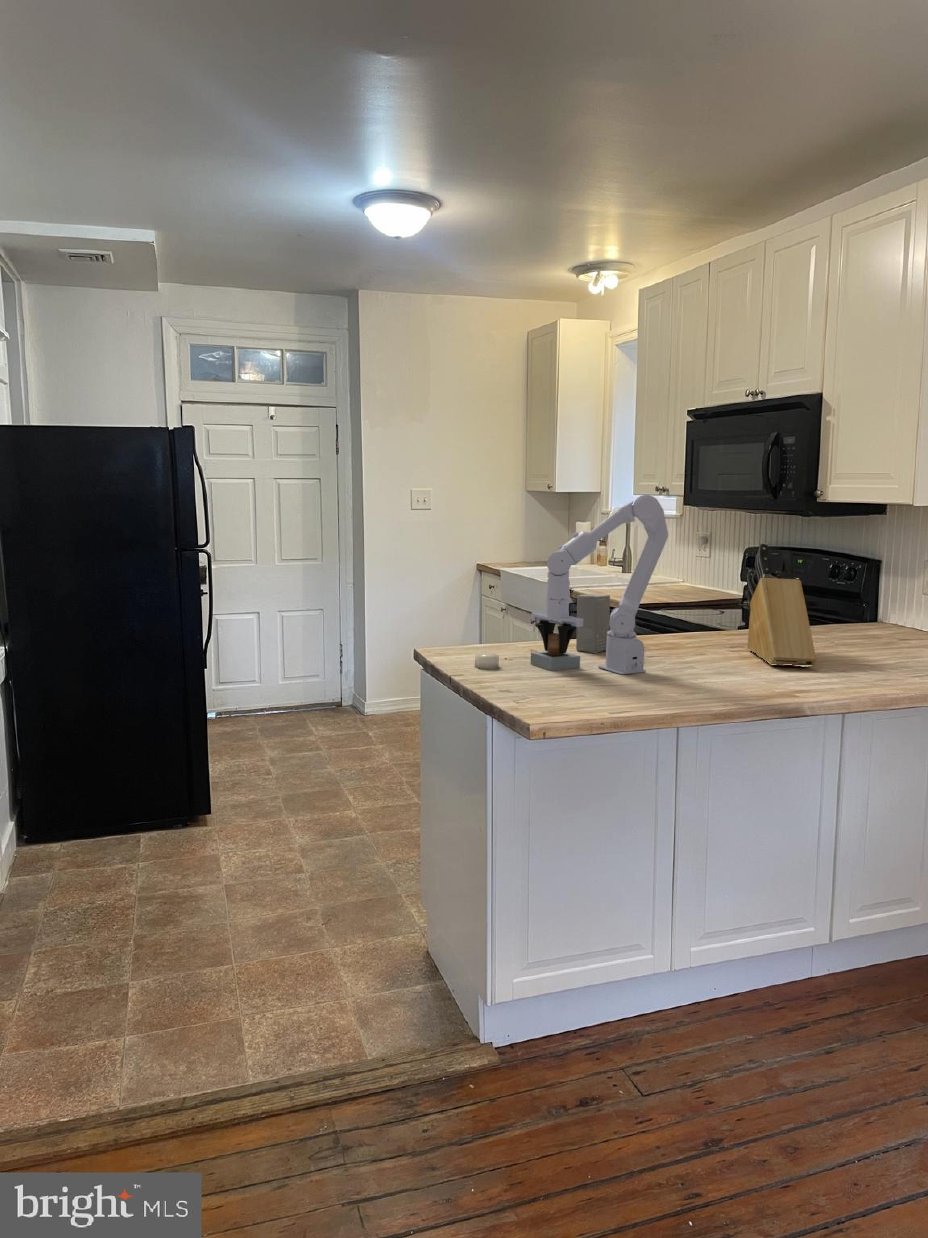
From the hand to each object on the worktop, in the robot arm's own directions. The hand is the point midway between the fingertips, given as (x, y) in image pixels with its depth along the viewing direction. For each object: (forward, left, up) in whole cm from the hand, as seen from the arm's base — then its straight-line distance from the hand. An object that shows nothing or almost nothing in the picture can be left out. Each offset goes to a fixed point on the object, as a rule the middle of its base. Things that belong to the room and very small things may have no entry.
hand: (555, 651), depth 228 cm
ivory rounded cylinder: (+7, +17, -4) cm, 18 cm away
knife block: (-15, -64, -4) cm, 66 cm away
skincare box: (+14, -22, -4) cm, 26 cm away
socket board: (0, 0, -4) cm, 4 cm away
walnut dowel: (0, 0, -2) cm, 2 cm away
